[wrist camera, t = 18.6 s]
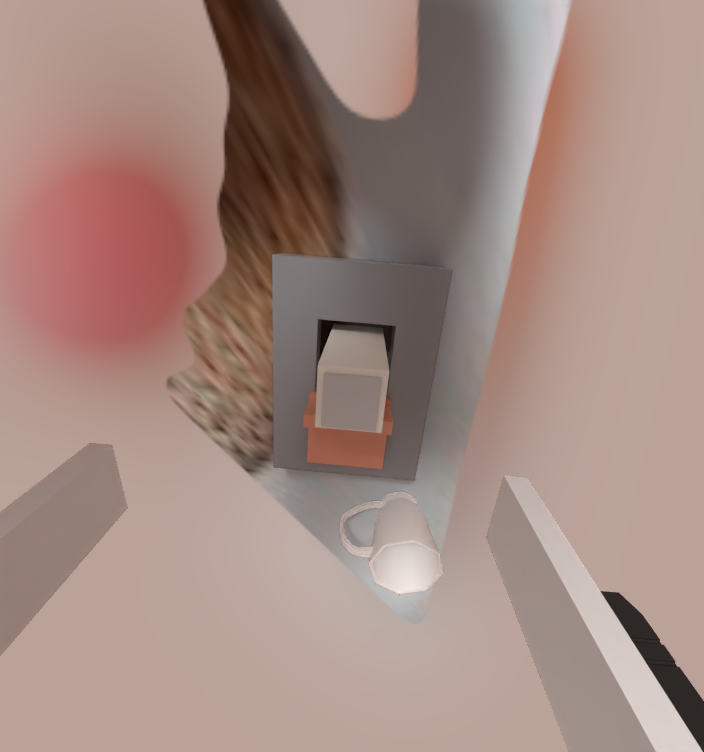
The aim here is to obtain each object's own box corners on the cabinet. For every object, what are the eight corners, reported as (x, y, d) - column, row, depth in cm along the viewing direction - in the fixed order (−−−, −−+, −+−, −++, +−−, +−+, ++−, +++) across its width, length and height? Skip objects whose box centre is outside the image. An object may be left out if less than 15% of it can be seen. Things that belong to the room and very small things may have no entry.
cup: (423, 533, 41) (435, 600, 33) (338, 522, 41) (332, 586, 33) (436, 485, 38) (453, 546, 31) (346, 473, 38) (341, 530, 31)
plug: (330, 369, 34) (313, 431, 23) (333, 323, 32) (316, 367, 21) (377, 373, 34) (381, 437, 23) (382, 327, 32) (390, 374, 21)
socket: (281, 252, 30) (272, 254, 27) (444, 266, 30) (452, 270, 27) (280, 450, 37) (273, 467, 35) (411, 462, 37) (414, 480, 35)
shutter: (310, 391, 31) (303, 409, 28) (391, 398, 31) (393, 417, 28) (308, 458, 34) (301, 482, 31) (382, 465, 34) (383, 490, 31)
